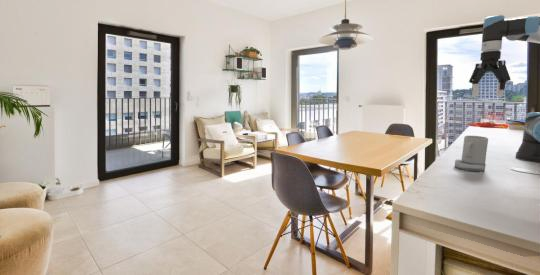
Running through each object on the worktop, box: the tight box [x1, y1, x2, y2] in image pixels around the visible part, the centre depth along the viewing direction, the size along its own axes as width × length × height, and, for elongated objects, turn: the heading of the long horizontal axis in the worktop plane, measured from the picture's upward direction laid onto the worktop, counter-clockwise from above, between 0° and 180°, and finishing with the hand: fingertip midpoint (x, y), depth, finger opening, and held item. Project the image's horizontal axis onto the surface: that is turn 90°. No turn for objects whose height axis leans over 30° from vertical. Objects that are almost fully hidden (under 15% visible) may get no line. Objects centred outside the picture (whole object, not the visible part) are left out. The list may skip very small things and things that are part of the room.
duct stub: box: [454, 158, 487, 173], centre depth 125 cm, size 11×11×3 cm
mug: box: [461, 135, 489, 164], centre depth 123 cm, size 12×8×11 cm
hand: (486, 97), depth 136 cm, fingers open, 13 cm apart
